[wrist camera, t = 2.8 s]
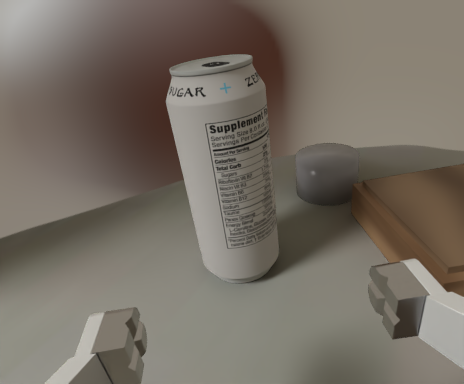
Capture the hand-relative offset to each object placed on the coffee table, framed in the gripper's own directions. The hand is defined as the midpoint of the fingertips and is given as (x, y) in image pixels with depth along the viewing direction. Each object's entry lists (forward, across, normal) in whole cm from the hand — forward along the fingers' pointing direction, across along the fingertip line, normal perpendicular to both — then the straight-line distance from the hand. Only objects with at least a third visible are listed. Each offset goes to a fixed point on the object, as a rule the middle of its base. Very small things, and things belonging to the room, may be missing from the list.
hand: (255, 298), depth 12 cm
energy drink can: (+12, 0, +9) cm, 15 cm away
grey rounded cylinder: (+21, -10, +9) cm, 25 cm away
